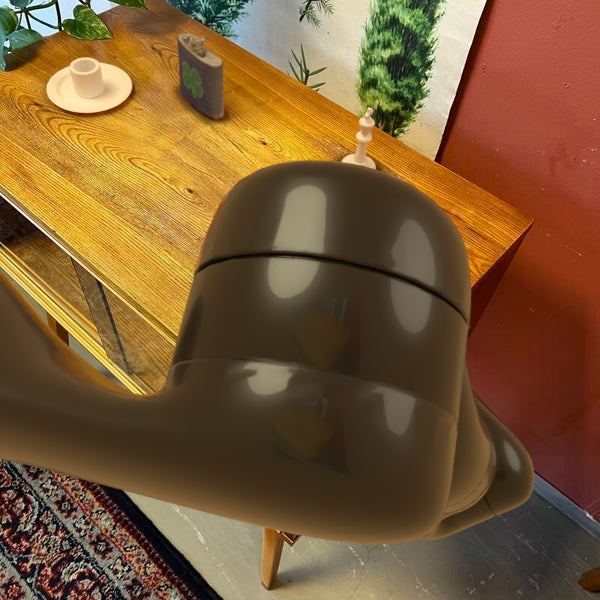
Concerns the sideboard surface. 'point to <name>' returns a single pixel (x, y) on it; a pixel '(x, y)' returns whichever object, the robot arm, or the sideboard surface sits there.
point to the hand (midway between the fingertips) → (318, 171)
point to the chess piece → (363, 142)
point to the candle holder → (89, 86)
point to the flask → (200, 77)
